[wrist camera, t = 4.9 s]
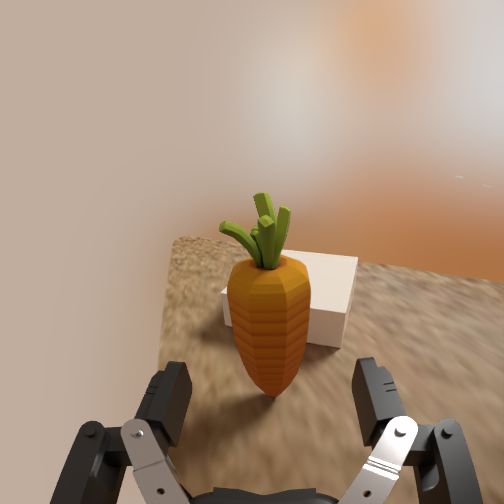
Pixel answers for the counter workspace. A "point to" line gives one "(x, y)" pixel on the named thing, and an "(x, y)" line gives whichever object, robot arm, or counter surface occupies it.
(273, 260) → the carrot
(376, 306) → the counter surface
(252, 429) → the counter surface
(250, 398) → the counter surface
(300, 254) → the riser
